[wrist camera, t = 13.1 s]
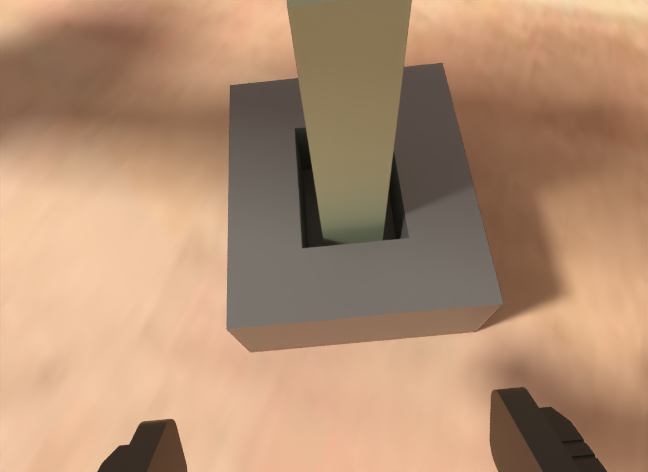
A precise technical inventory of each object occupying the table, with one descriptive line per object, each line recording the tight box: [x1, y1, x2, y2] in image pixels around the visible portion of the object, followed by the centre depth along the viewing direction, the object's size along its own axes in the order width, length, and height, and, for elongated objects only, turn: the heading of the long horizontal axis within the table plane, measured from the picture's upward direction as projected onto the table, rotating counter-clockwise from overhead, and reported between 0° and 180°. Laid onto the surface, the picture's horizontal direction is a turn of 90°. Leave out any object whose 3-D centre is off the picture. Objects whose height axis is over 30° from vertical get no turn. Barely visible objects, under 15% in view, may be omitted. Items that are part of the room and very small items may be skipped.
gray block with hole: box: [227, 63, 504, 352], centre depth 25 cm, size 12×14×5 cm
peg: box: [287, 0, 412, 246], centre depth 19 cm, size 3×5×16 cm, turn 4°
